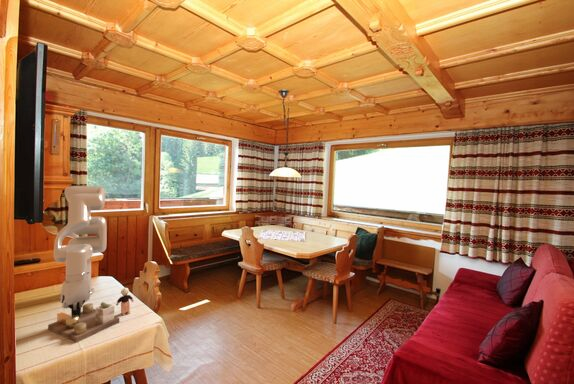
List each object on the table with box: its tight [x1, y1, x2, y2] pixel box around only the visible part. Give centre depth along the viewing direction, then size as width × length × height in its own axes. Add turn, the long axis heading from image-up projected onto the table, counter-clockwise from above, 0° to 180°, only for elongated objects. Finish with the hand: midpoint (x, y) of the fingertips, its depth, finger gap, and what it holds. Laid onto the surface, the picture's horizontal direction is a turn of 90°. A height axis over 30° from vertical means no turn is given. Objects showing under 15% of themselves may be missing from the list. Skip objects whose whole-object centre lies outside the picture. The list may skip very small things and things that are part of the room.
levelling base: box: [47, 301, 120, 343], centre depth 126 cm, size 20×18×10 cm
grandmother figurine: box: [115, 287, 135, 317], centre depth 137 cm, size 8×4×13 cm, turn 148°
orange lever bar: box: [56, 312, 79, 329], centre depth 123 cm, size 12×4×4 cm, turn 66°
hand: (76, 316), depth 127 cm, fingers closed
